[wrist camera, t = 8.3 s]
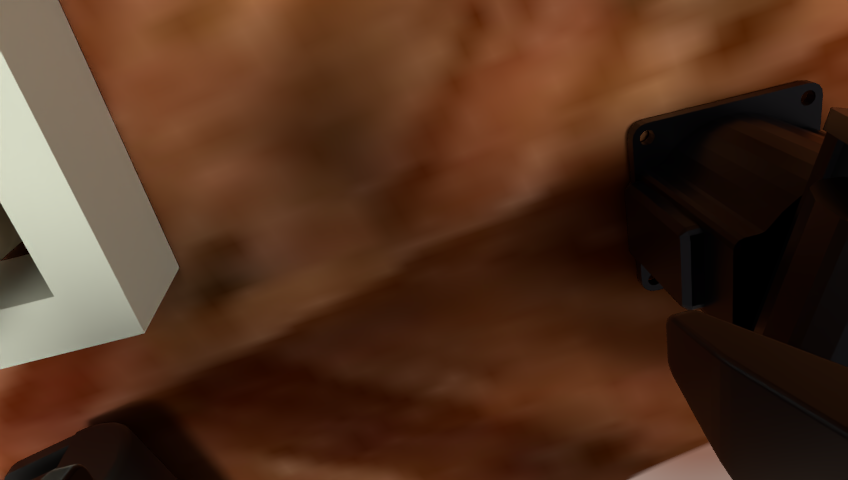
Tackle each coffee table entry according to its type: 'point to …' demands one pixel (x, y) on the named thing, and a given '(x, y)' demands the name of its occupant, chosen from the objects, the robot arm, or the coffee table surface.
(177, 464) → the coffee table surface
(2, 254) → the beech peg
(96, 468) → the end cap
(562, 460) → the coffee table surface
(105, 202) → the hole block
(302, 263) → the coffee table surface
